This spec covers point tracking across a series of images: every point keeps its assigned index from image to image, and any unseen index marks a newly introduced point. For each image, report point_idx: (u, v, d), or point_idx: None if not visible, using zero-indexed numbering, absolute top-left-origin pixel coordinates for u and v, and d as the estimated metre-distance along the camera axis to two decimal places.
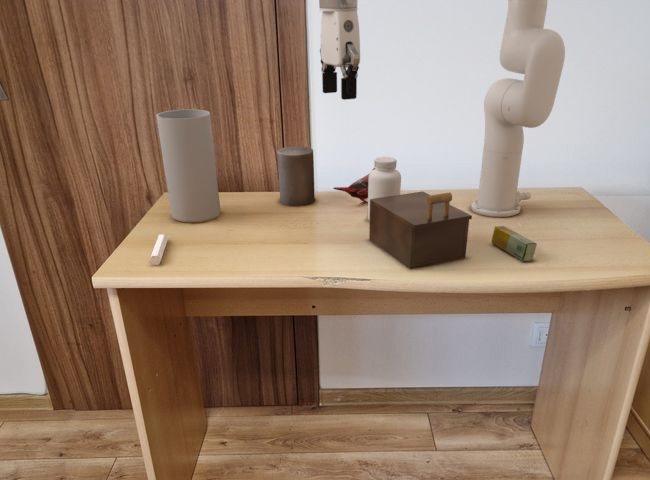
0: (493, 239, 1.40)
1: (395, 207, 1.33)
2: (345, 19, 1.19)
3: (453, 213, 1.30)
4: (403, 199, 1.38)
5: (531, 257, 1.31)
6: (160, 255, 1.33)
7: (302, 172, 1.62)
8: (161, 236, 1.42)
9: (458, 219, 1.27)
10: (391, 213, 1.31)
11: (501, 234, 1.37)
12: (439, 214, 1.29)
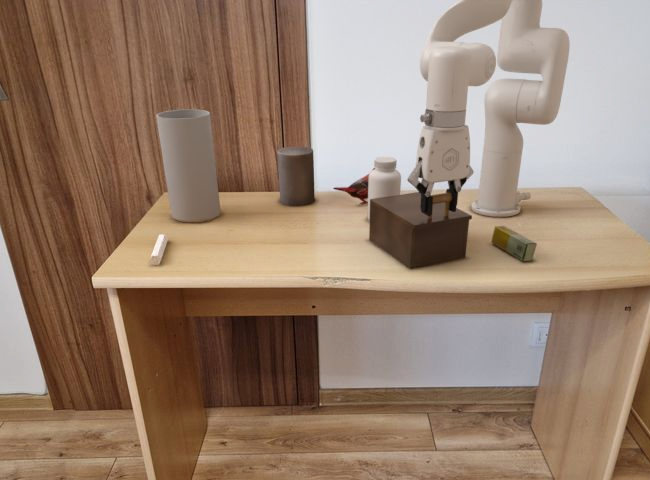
0: (493, 239, 1.40)
1: (395, 207, 1.33)
2: (422, 135, 1.18)
3: (453, 213, 1.30)
4: (403, 199, 1.38)
5: (531, 257, 1.31)
6: (160, 255, 1.33)
7: (302, 172, 1.62)
8: (161, 236, 1.42)
9: (458, 219, 1.27)
10: (391, 213, 1.31)
11: (501, 234, 1.37)
12: (439, 214, 1.29)
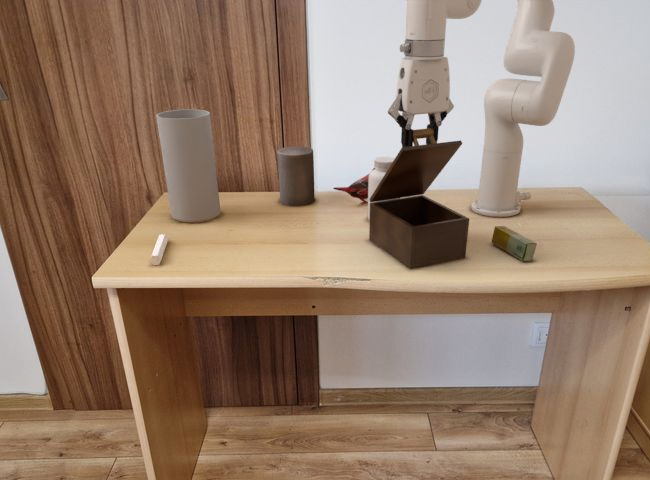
0: (493, 239, 1.40)
1: None
2: (401, 66, 1.19)
3: None
4: None
5: (531, 257, 1.31)
6: (160, 255, 1.33)
7: (302, 172, 1.62)
8: (161, 236, 1.42)
9: (447, 143, 1.25)
10: (385, 175, 1.30)
11: (501, 234, 1.37)
12: None
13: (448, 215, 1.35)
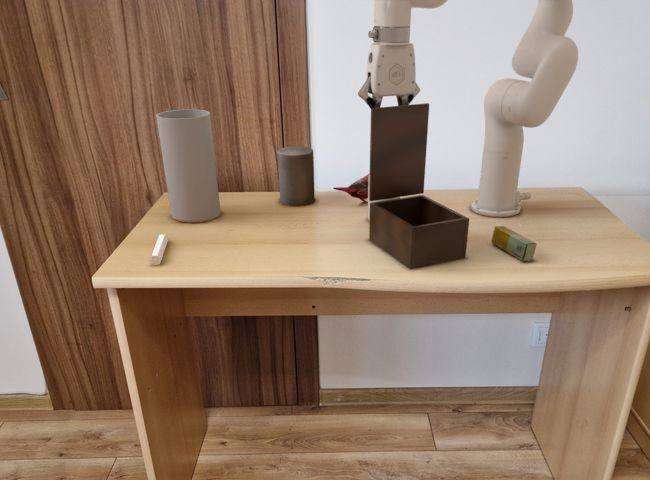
0: (493, 239, 1.40)
1: None
2: (370, 51, 1.29)
3: None
4: None
5: (531, 257, 1.31)
6: (160, 255, 1.33)
7: (302, 172, 1.62)
8: (161, 236, 1.42)
9: (415, 104, 1.33)
10: (370, 155, 1.34)
11: (501, 234, 1.37)
12: None
13: (448, 215, 1.35)
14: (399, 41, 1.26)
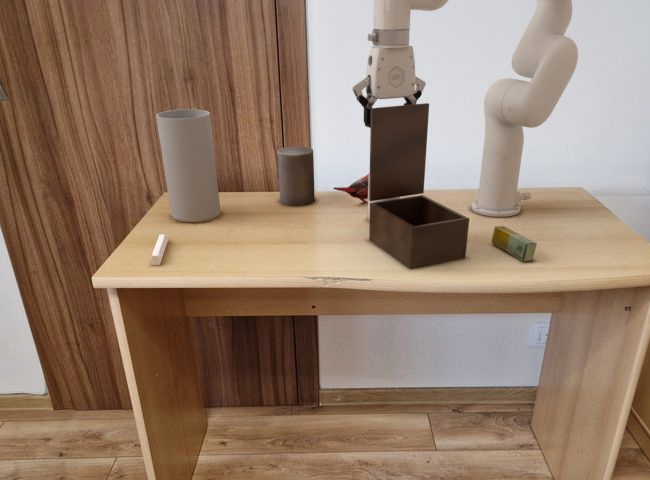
0: (493, 239, 1.40)
1: None
2: (370, 54, 1.29)
3: None
4: None
5: (531, 257, 1.31)
6: (160, 255, 1.33)
7: (302, 172, 1.62)
8: (161, 236, 1.42)
9: (415, 104, 1.33)
10: (370, 155, 1.34)
11: (501, 234, 1.37)
12: None
13: (448, 215, 1.35)
14: (398, 44, 1.26)
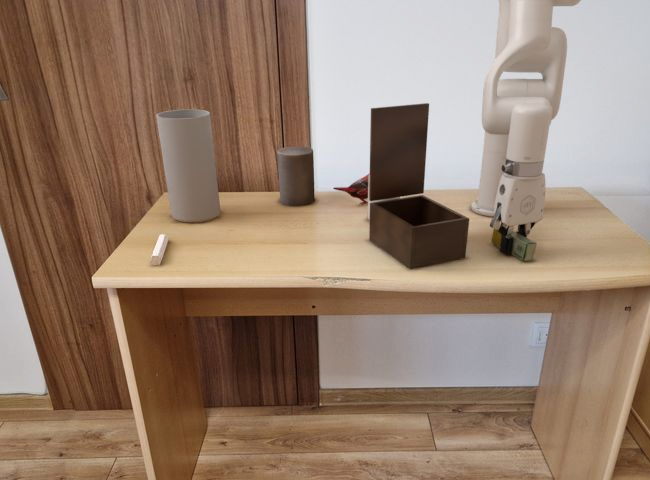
0: (492, 239, 1.39)
1: None
2: (502, 183, 1.27)
3: None
4: None
5: (532, 256, 1.31)
6: (161, 255, 1.33)
7: (302, 172, 1.62)
8: (162, 236, 1.42)
9: (415, 104, 1.33)
10: (370, 155, 1.34)
11: None
12: None
13: (448, 215, 1.35)
14: (534, 175, 1.24)
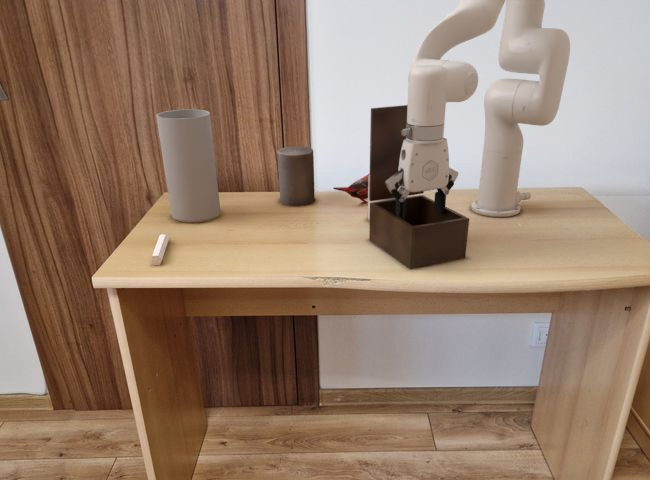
0: None
1: None
2: (403, 148, 1.25)
3: None
4: None
5: None
6: (161, 255, 1.33)
7: (302, 172, 1.62)
8: (162, 236, 1.42)
9: None
10: (370, 155, 1.34)
11: None
12: None
13: (448, 215, 1.35)
14: (433, 139, 1.23)
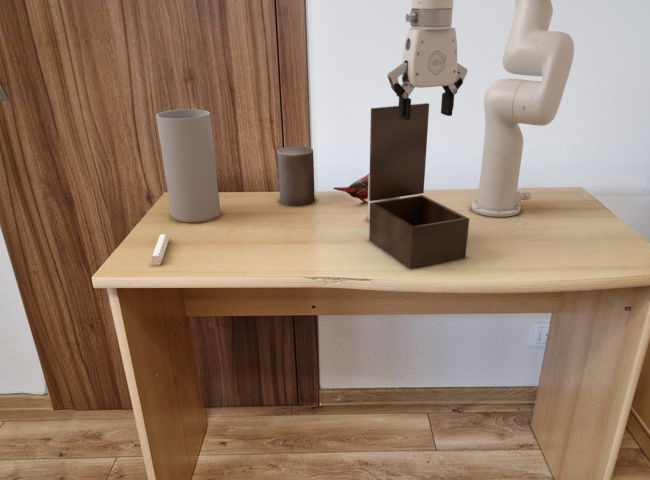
0: None
1: None
2: (407, 37, 1.15)
3: None
4: None
5: None
6: (161, 255, 1.33)
7: (302, 172, 1.62)
8: (162, 235, 1.42)
9: (415, 104, 1.33)
10: (370, 155, 1.34)
11: None
12: None
13: (448, 215, 1.35)
14: (441, 25, 1.12)
